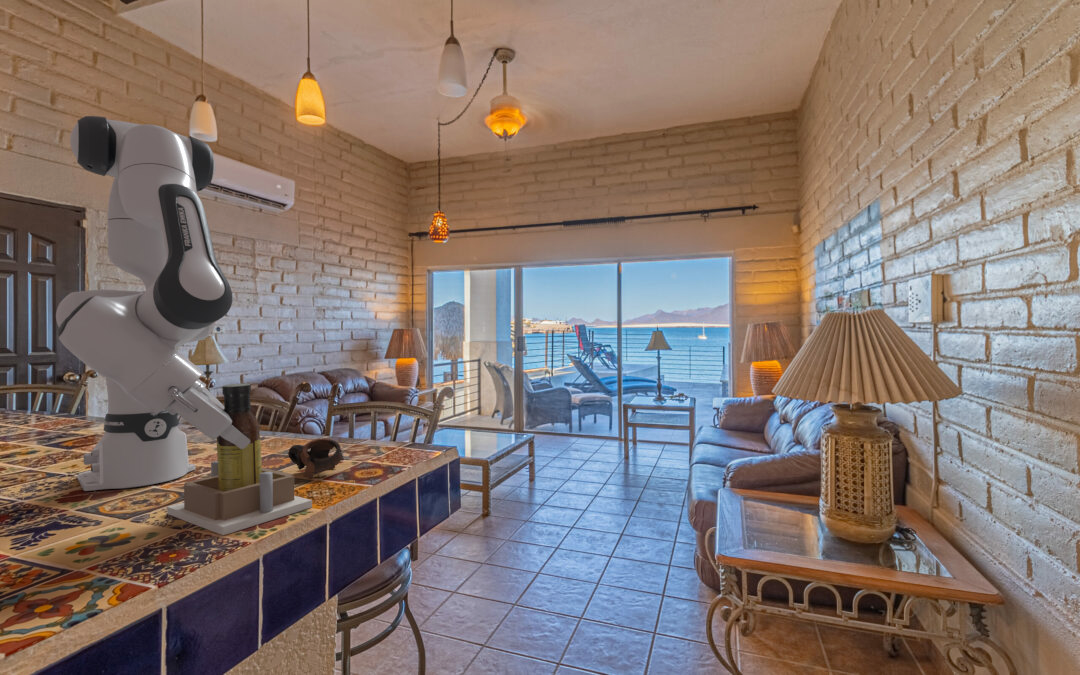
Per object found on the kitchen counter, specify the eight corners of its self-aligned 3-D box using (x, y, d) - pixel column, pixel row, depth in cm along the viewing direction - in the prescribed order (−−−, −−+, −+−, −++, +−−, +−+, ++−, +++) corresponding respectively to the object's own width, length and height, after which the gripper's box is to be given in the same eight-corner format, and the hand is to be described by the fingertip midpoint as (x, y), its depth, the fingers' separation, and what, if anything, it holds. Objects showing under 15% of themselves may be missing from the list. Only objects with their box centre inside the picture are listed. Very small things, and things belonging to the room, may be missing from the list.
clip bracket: (167, 513, 81) (167, 470, 81) (254, 491, 93) (253, 453, 93) (223, 535, 72) (222, 485, 72) (312, 507, 83) (311, 464, 84)
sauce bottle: (244, 495, 86) (243, 382, 86) (271, 499, 84) (270, 382, 84) (208, 507, 80) (206, 385, 80) (236, 511, 78) (234, 386, 78)
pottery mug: (349, 468, 112) (351, 439, 108) (330, 498, 103) (331, 468, 100) (297, 455, 111) (297, 426, 108) (273, 484, 103) (273, 454, 99)
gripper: (188, 374, 70) (267, 435, 76) (189, 368, 87) (253, 418, 92) (148, 408, 67) (233, 468, 73) (157, 395, 84) (225, 445, 90)
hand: (244, 440), depth 83 cm, fingers open, 7 cm apart
